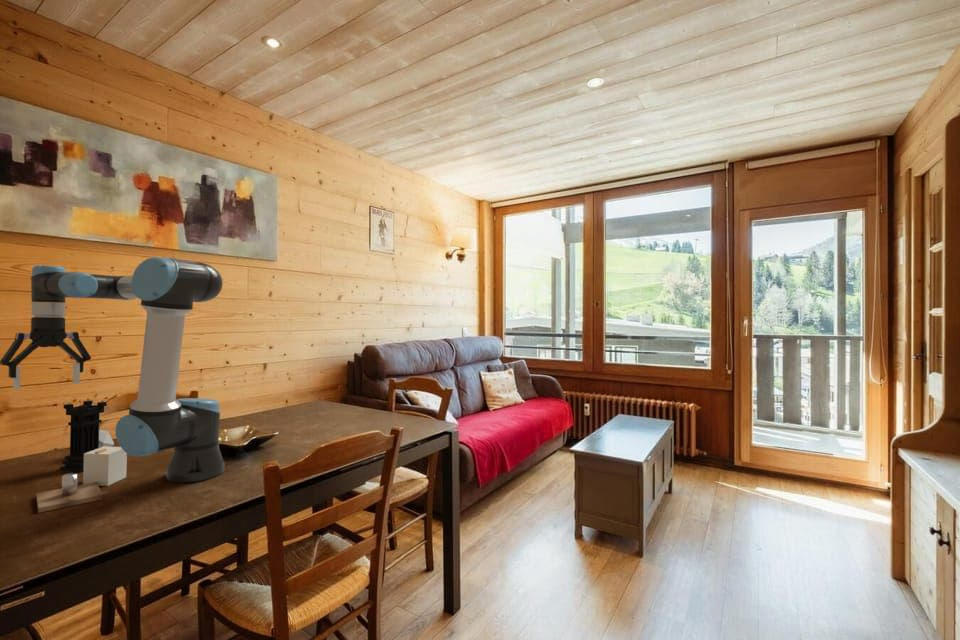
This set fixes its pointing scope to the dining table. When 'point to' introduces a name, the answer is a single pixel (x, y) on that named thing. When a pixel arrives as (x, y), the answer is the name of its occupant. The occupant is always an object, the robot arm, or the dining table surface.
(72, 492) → the d post
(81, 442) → the chess piece
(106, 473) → the cream white block
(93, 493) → the hub plate
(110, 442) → the die
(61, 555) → the dining table surface
